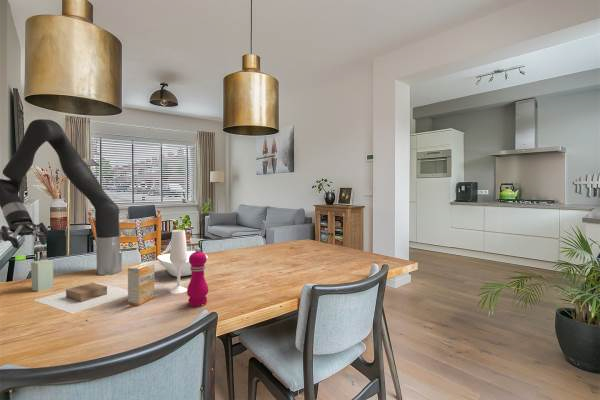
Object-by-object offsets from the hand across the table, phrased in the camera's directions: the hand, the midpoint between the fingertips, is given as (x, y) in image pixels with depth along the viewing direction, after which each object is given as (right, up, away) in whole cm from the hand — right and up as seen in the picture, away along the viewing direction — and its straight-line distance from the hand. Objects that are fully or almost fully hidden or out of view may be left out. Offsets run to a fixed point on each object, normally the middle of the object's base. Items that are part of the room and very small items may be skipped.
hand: (31, 245), depth 124 cm
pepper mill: (+72, -19, -15) cm, 76 cm away
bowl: (+54, -17, +20) cm, 60 cm away
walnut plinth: (+31, -17, -12) cm, 37 cm away
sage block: (+7, -17, -3) cm, 18 cm away
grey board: (+31, -18, -12) cm, 38 cm away
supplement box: (+52, -18, -13) cm, 56 cm away
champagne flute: (+61, -18, -2) cm, 63 cm away
